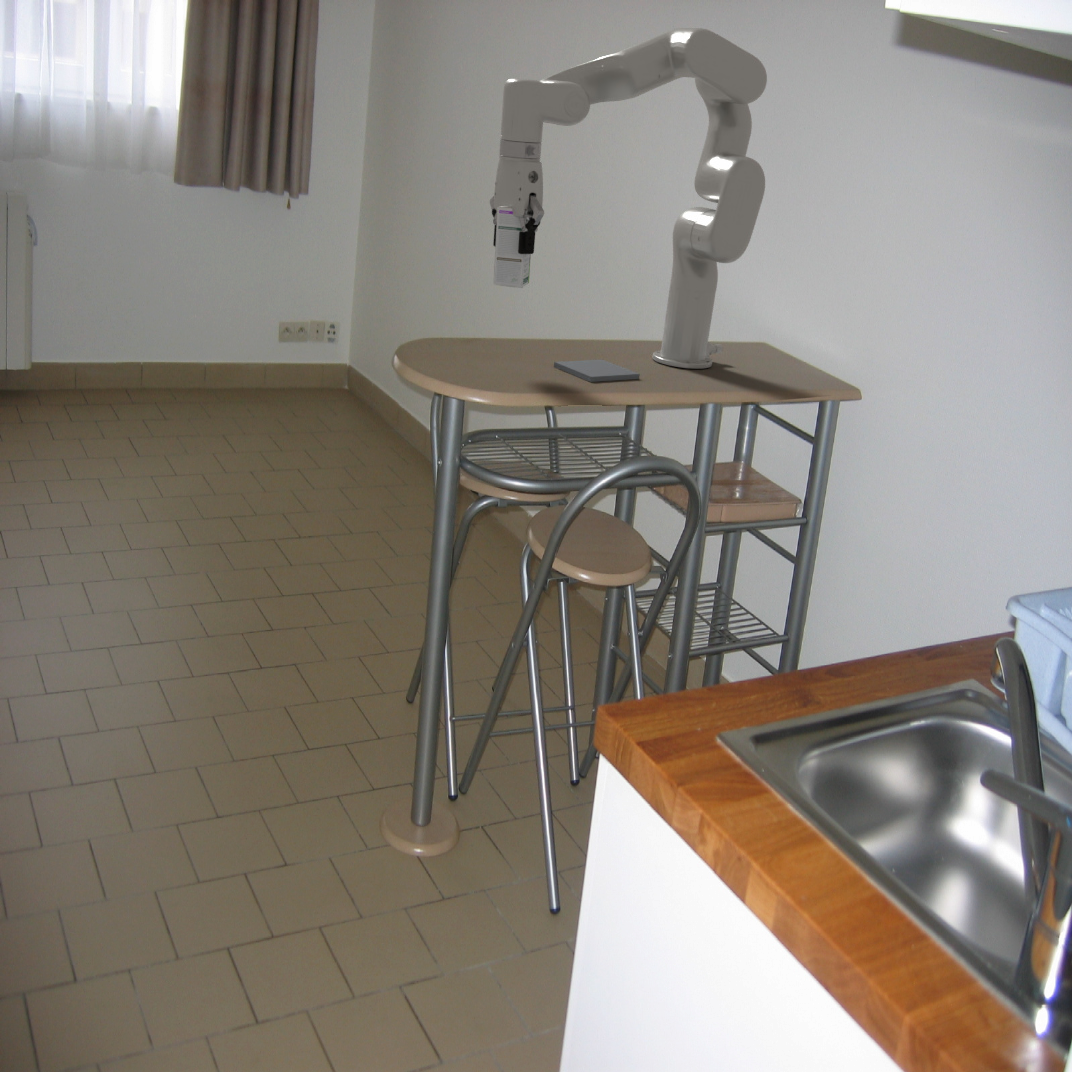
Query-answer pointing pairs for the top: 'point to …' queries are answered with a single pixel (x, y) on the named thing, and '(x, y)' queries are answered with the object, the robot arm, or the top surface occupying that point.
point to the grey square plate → (596, 370)
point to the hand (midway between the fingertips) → (513, 249)
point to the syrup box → (509, 251)
